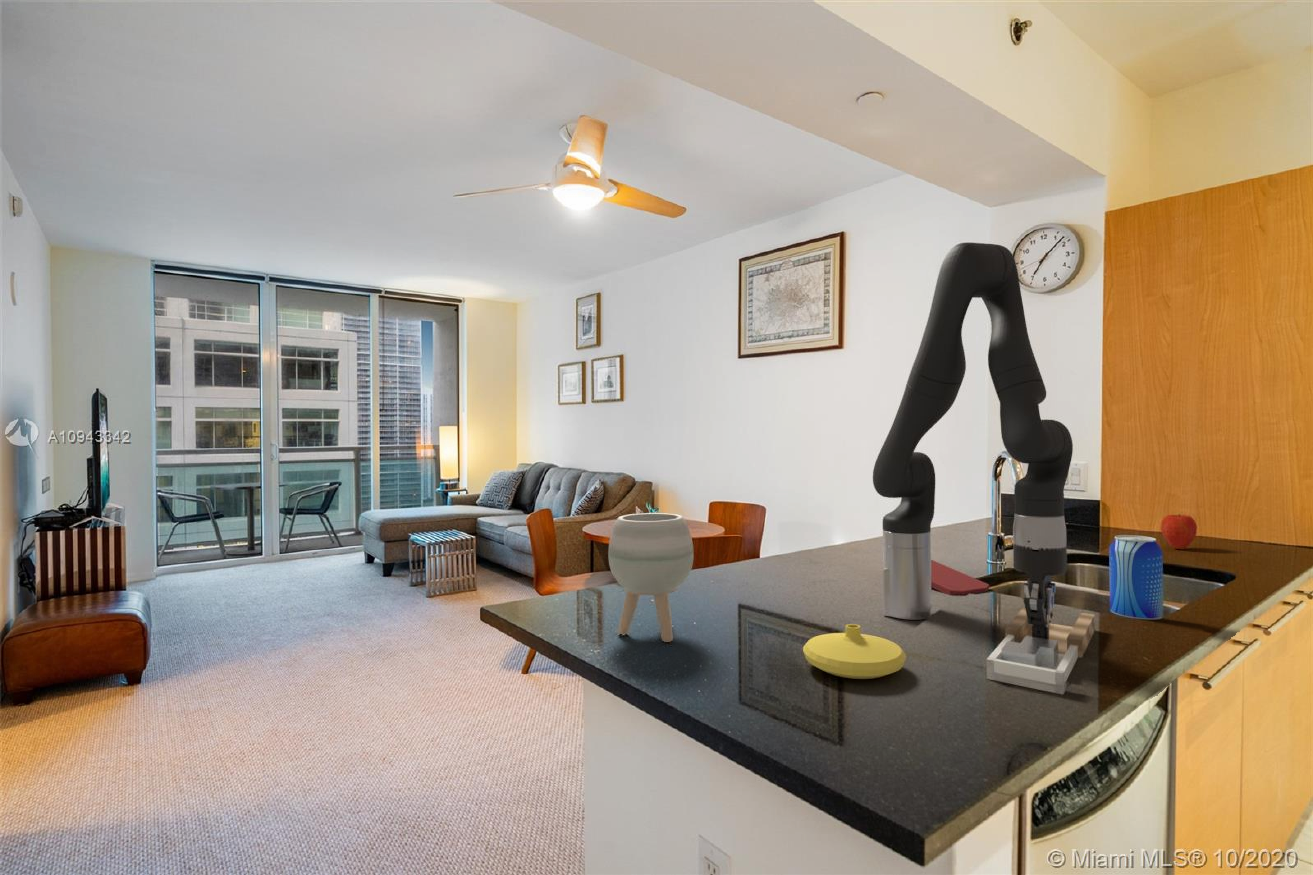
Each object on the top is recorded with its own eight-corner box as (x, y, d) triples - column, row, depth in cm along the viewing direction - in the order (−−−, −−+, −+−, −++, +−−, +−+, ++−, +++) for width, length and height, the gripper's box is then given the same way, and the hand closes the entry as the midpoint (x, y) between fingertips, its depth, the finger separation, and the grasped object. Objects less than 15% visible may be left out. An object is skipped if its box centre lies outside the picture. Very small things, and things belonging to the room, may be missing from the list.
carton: (991, 606, 153) (913, 570, 176) (994, 586, 152) (915, 552, 175) (952, 612, 149) (877, 574, 172) (954, 592, 148) (879, 556, 171)
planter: (592, 636, 124) (589, 518, 124) (650, 617, 136) (648, 509, 136) (654, 655, 113) (652, 525, 113) (712, 632, 125) (710, 515, 125)
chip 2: (1026, 654, 106) (1026, 635, 106) (1058, 659, 104) (1058, 641, 104) (1020, 662, 103) (1020, 643, 103) (1053, 668, 100) (1053, 648, 100)
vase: (795, 653, 113) (794, 612, 113) (888, 653, 112) (887, 612, 112) (813, 689, 97) (812, 642, 97) (921, 689, 96) (921, 641, 96)
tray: (1008, 651, 111) (1008, 634, 111) (1078, 664, 105) (1077, 645, 105) (986, 678, 100) (986, 659, 100) (1063, 694, 93) (1063, 673, 93)
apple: (1171, 551, 193) (1170, 515, 193) (1154, 546, 202) (1154, 511, 202) (1204, 552, 192) (1203, 515, 192) (1185, 547, 200) (1185, 511, 200)
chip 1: (1008, 659, 104) (1007, 641, 104) (1040, 665, 101) (1040, 646, 101) (1001, 668, 101) (1001, 648, 101) (1035, 674, 98) (1034, 654, 98)
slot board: (1025, 626, 125) (1025, 605, 125) (1094, 636, 118) (1094, 614, 118) (1005, 651, 111) (1005, 627, 111) (1081, 665, 104) (1081, 640, 104)
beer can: (1148, 628, 122) (1147, 542, 122) (1101, 617, 130) (1100, 536, 130) (1172, 621, 126) (1171, 538, 126) (1124, 611, 134) (1123, 533, 134)
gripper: (1021, 534, 114) (1022, 633, 114) (1004, 546, 104) (1006, 655, 104) (1072, 538, 109) (1073, 642, 110) (1059, 551, 99) (1061, 665, 99)
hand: (1040, 648), depth 107 cm, fingers closed
